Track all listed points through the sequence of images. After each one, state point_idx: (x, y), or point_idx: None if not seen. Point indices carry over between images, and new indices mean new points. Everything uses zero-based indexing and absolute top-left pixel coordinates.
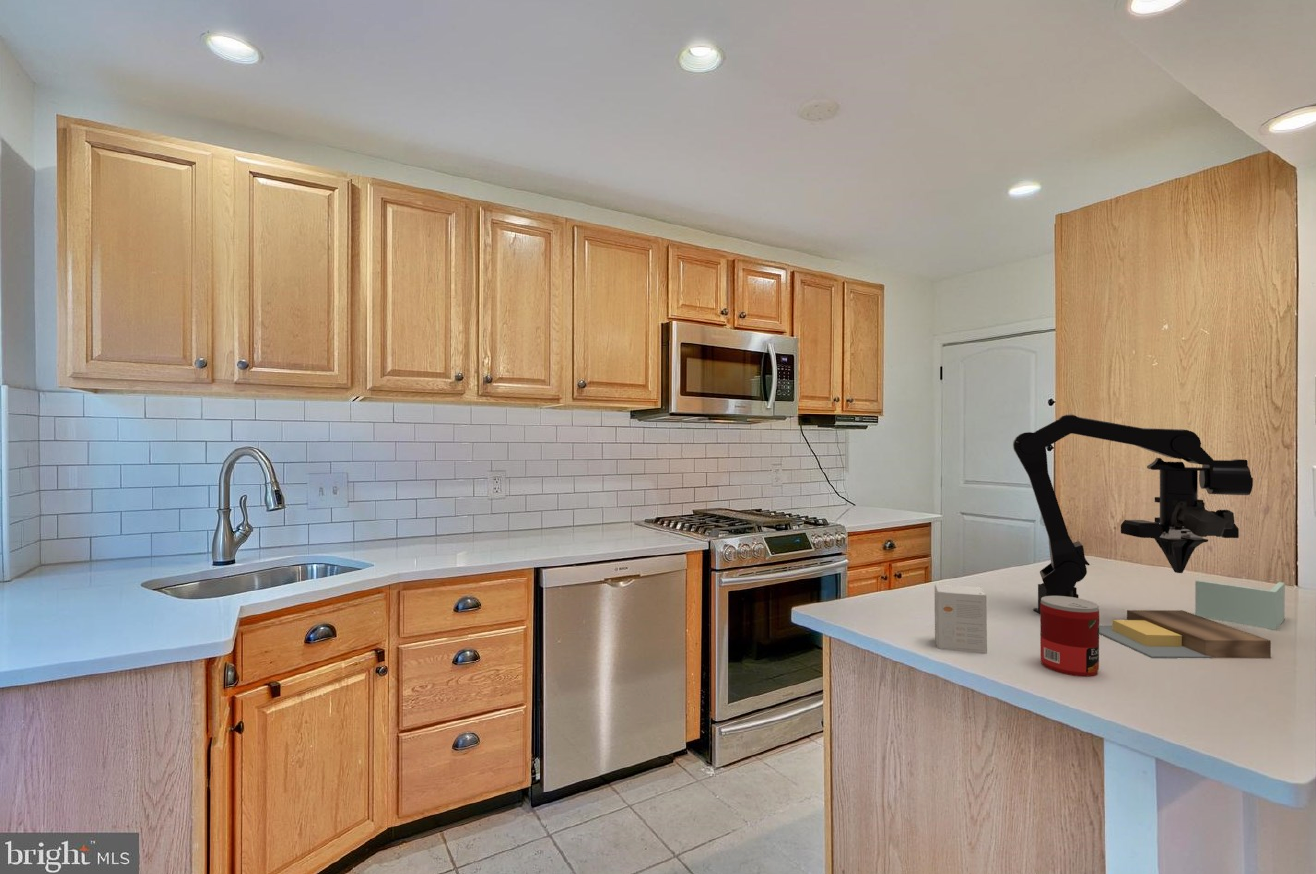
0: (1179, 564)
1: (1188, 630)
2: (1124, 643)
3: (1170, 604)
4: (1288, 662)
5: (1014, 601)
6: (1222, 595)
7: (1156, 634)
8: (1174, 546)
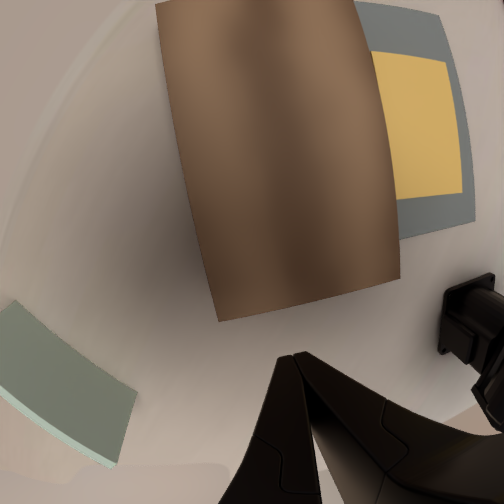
0: (325, 379)
1: (348, 61)
2: (459, 87)
3: (155, 458)
4: (143, 8)
5: (467, 385)
6: (67, 406)
7: (425, 63)
8: (486, 439)
